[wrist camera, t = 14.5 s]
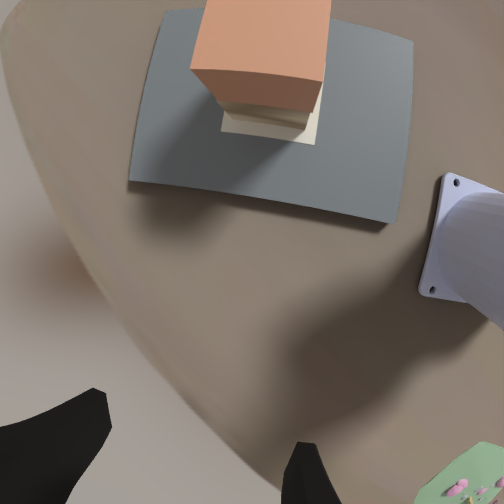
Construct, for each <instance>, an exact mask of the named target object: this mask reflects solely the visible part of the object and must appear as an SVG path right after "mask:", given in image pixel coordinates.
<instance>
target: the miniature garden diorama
mask: <svg viewBox="0 0 504 504" xmlns="http://www.w3.org/2000/svg"><path fill="white" fill-rule="evenodd" d="M503 486H504V448H503V447H500V446H497V445H494V444H491V443H487V442H480V443H478V444H476V445H474V446H472V447H471V448H469V449H468V450H466V451H465V452H464V453H462V454H461V455H460V456H459V457H457V458H456V459H455V460H454V461H452V462H451V463H450V464H449V465H448V466H447V467H445V468H444V469H443V470H442V471H441V472H439V473H438V474H437V475H436V476H435V477H434V478H432V479H431V480H430V481H429V482H428V483H427V484H425V485H424V486H423V487H422V488H421V489H420V491H419V493H418V495H417V497H416V499H415V501H414V503H413V504H488V503H489V502H490V501H491V500H492V499H493V498H494V497H495V495H496V494H497V493H498V492H499V491H500V490H501V489H502V487H503ZM497 502H498V500H496V501H494V503H493V504H496V503H497Z"/></svg>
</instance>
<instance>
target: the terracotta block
mask: <svg viewBox="0 0 504 504" xmlns="http://www.w3.org/2000/svg"><path fill="white" fill-rule="evenodd" d="M330 10H331V0H207V4H206V7H205V11H204V14H203V18H202V21H201V25H200V29H199V33H198V36H197V40H196V44H195V49H194V53H193V57H192V61H191V66H190V70H191V71H192V72H193V73H194V74H195V75H196V76H197V77H198V79H199V80H200V81H201V82H202V83H203V84H204V85H205V86H206V87H207V89H208V90H209V91H210V92H211V93H212V94H213V95H214V97H215V98H216V99H217V100H218V101H222V102H235V103H245V104H254V105H263V106H271V107H278V108H285V109H291V110H298V111H304V112H309V113H313V110H314V107H315V104H316V101H317V98H318V95H319V92H320V89H321V86H322V83H323V77H324V69H325V60H326V51H327V41H328V31H329V21H330Z"/></svg>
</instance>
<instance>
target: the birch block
mask: <svg viewBox="0 0 504 504" xmlns="http://www.w3.org/2000/svg"><path fill="white" fill-rule="evenodd" d="M217 102H218V104H219V105H220V106H221V107H222V108H223V109H224V110H225V111H226V113H227V114H228V115H229V116H230V117H231V118H232V119H233V120H238V121H247V122H255V123H263V124H270V125H277V126H284V127H290V128H296V129H302V130H305V129H306V126H307V122H308V119H309V116H310V113H309V112H304V111H298V110H291V109H285V108H278V107H271V106H263V105H254V104H245V103H235V102H222V101H218V100H217Z"/></svg>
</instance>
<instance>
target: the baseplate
mask: <svg viewBox="0 0 504 504" xmlns="http://www.w3.org/2000/svg"><path fill="white" fill-rule="evenodd" d="M204 11H205V8H197V9H180V10H169V11H166V12H165V15H164V18H163V21H162V24H161V27H160V30H159V34H158V37H157V41H156V44H155V48H154V51H153V55H152V59H151V62H150V66H149V70H148V74H147V79H146V83H145V87H144V92H143V96H142V101H141V106H140V111H139V116H138V121H137V127H136V132H135V138H134V145H133V151H132V158H131V165H130V173H129V180H131V181H140V182H149V183H158V184H166V185H174V186H182V187H190V188H197V189H204V190H211V191H218V192H225V193H231V194H238V195H244V196H251V197H257V198H263V199H269V200H274V201H280V202H286V203H291V204H297V205H302V206H308V207H313V208H318V209H323V210H328V211H333V212H338V213H343V214H348V215H353V216H358V217H362V218H367V219H372V220H376V221H381V222H385V223H389V224H394V225H395V223H396V218H397V213H398V208H399V203H400V197H401V191H402V185H403V179H404V172H405V165H406V158H407V150H408V141H409V131H410V121H411V108H412V90H413V41H410V40H408V39H405V38H402V37H399V36H396V35H393V34H390V33H386V32H383V31H380V30H376V29H373V28H369V27H365V26H361V25H357V24H353V23H349V22H345V21H340V20H335V19H330V21H329V31H328V41H327V51H326V60H325V69H324V77H323V83H322V86H321V89H320V92H319V95H318V98H317V101H316V104H315V107H314V110H313V113H310V116H309V119H308V122H307V126H306V129H305V130H302V129H296V128H290V127H284V126H277V125H270V124H263V123H255V122H247V121H238V120H233V119H232V118H231V117H230V116H229V115H228V114H227V113H226V111H225V110H224V109H223V108H222V107H221V106H220V105H219V104H218V102H217V99H216V98H215V97H214V95H213V94H212V93H211V92H210V91H209V90H208V89H207V87H206V86H205V85H204V84H203V83H202V82H201V81H200V80H199V79H198V77H197V76H196V75H195V74H194V73H193V72H192V71H191V70H190V66H191V61H192V57H193V53H194V49H195V44H196V40H197V36H198V33H199V29H200V25H201V21H202V18H203V14H204Z"/></svg>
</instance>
